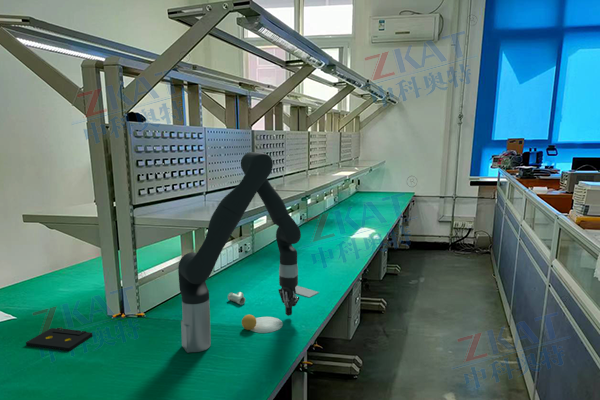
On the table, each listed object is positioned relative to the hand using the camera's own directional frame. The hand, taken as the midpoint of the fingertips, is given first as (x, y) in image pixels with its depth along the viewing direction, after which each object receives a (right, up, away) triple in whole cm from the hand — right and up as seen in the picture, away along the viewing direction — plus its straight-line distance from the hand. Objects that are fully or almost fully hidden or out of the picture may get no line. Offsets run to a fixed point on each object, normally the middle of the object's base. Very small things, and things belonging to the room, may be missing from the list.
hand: (288, 314), depth 167 cm
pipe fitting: (-23, +1, +18) cm, 29 cm away
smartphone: (+6, +2, +30) cm, 30 cm away
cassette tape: (-82, -5, -19) cm, 85 cm away
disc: (-9, -2, -6) cm, 11 cm away
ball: (-15, 0, -10) cm, 18 cm away
